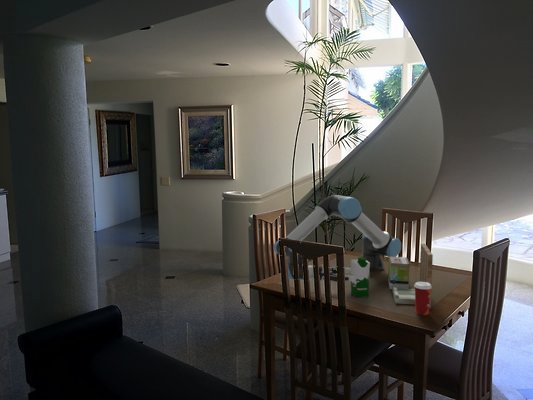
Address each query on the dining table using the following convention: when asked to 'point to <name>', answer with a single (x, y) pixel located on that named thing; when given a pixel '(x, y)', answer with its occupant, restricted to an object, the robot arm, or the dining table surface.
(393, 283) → the tea box
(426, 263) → the brown wood-grained piece
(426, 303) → the paper cup
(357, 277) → the soya milk
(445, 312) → the dining table surface
